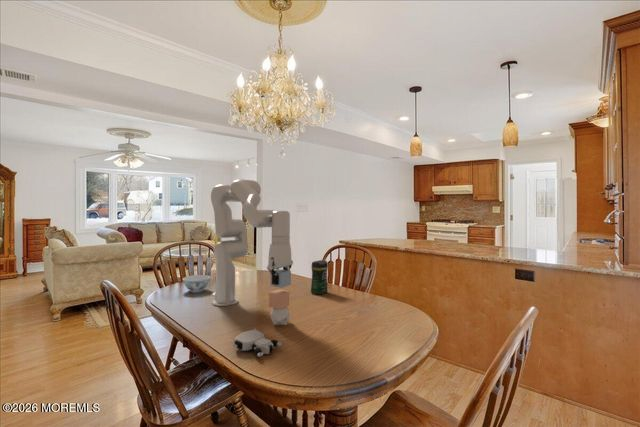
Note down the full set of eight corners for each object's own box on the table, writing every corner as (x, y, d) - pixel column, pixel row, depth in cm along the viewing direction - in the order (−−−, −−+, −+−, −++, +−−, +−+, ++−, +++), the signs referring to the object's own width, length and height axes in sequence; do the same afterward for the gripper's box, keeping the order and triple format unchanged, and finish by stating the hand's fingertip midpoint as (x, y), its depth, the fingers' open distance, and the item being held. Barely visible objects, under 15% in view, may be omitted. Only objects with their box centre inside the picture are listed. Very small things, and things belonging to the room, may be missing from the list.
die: (281, 331, 128) (294, 309, 131) (263, 319, 129) (277, 298, 132) (283, 330, 136) (295, 310, 138) (266, 319, 137) (279, 299, 140)
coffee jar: (319, 295, 176) (319, 262, 175) (308, 293, 180) (308, 260, 180) (330, 292, 183) (330, 260, 183) (319, 289, 188) (319, 258, 188)
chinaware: (178, 290, 184) (178, 277, 184) (204, 286, 194) (204, 273, 194) (188, 296, 173) (188, 282, 173) (214, 291, 183) (214, 278, 183)
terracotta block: (268, 306, 132) (269, 292, 132) (278, 302, 138) (278, 289, 137) (280, 309, 129) (280, 294, 129) (289, 305, 134) (289, 291, 134)
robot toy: (283, 351, 111) (253, 337, 119) (284, 338, 111) (253, 326, 119) (258, 365, 101) (227, 350, 109) (259, 352, 100) (227, 337, 109)
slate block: (270, 285, 132) (270, 271, 132) (280, 282, 137) (280, 269, 137) (281, 287, 129) (281, 273, 129) (290, 284, 134) (290, 270, 134)
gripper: (287, 237, 142) (286, 277, 143) (259, 241, 128) (259, 285, 128) (300, 238, 138) (300, 280, 138) (273, 242, 124) (273, 288, 124)
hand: (280, 282), depth 133 cm, fingers closed on slate block, 6 cm apart
